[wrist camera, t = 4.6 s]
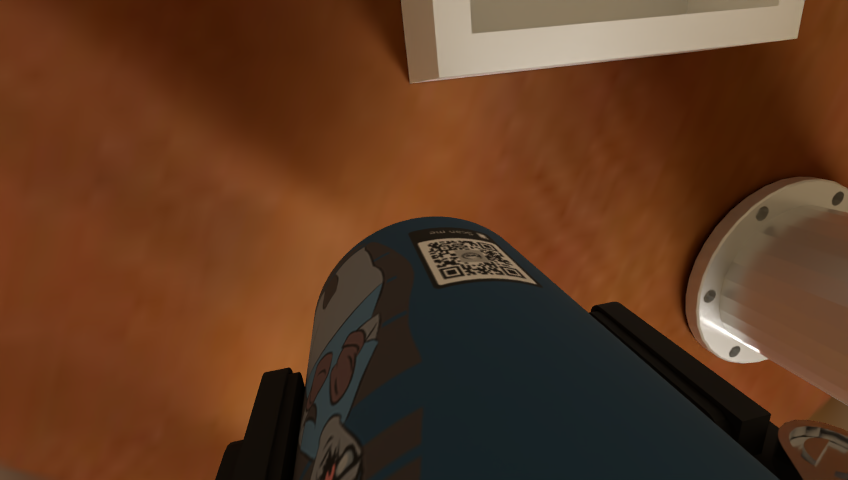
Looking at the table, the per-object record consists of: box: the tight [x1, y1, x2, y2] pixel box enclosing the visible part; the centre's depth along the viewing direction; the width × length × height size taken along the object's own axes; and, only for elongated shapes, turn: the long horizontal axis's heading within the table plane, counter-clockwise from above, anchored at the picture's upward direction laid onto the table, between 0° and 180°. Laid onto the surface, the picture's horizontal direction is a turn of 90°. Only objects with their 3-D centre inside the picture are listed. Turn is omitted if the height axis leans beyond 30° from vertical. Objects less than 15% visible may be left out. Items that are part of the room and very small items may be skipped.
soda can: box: [293, 217, 780, 480], centre depth 8 cm, size 7×7×12 cm
